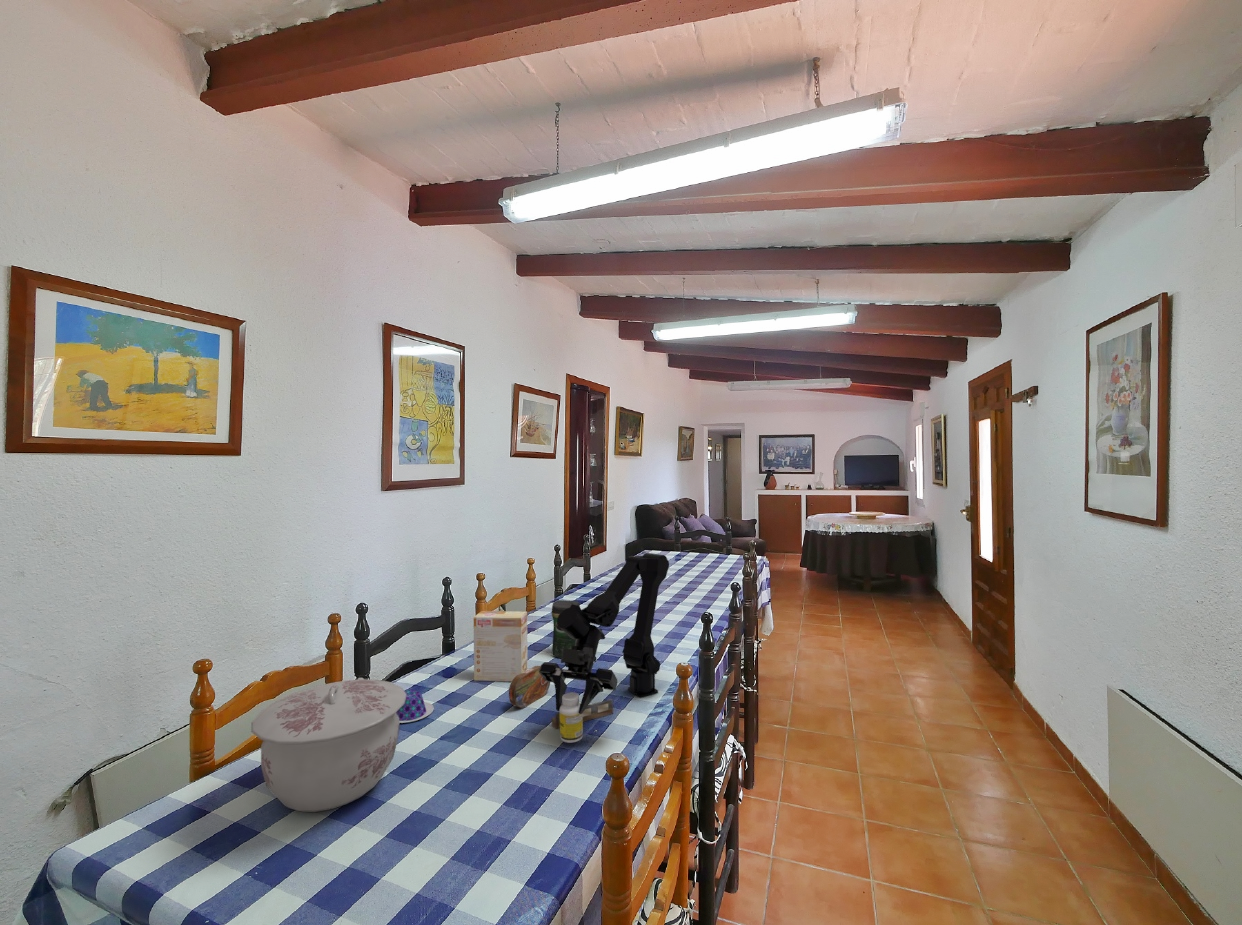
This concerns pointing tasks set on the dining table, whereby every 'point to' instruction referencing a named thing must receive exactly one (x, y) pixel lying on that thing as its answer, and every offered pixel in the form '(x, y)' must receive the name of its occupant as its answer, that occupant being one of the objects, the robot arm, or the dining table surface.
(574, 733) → the supplement bottle
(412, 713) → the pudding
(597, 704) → the rail
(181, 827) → the dining table surface
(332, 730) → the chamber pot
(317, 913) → the dining table surface
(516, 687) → the tin
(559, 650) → the coffee jar
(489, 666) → the coffeecake box
